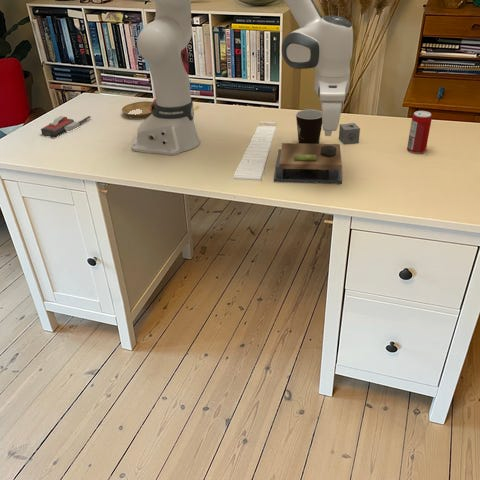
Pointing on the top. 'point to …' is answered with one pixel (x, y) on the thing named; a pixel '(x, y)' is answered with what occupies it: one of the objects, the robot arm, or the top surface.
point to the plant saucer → (138, 105)
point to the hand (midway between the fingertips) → (327, 134)
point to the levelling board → (309, 151)
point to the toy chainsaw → (61, 126)
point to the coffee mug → (309, 126)
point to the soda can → (419, 132)
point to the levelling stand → (306, 175)
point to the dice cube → (349, 133)
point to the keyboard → (256, 154)
